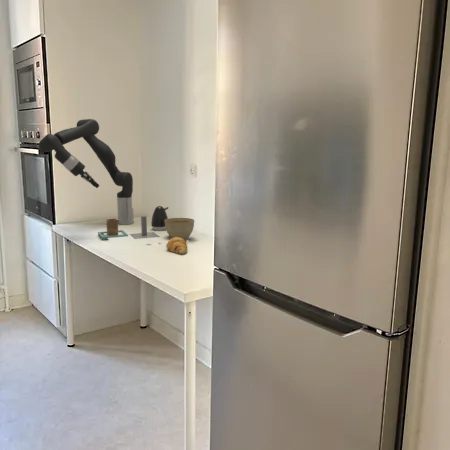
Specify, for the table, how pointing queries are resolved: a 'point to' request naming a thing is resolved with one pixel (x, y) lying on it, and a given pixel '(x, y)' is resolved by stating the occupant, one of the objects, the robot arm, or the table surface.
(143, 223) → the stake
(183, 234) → the planter bowl
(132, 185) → the robot arm
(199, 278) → the table surface
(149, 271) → the table surface
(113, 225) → the collar
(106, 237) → the tray
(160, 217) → the black electric kettle
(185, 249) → the croissant
